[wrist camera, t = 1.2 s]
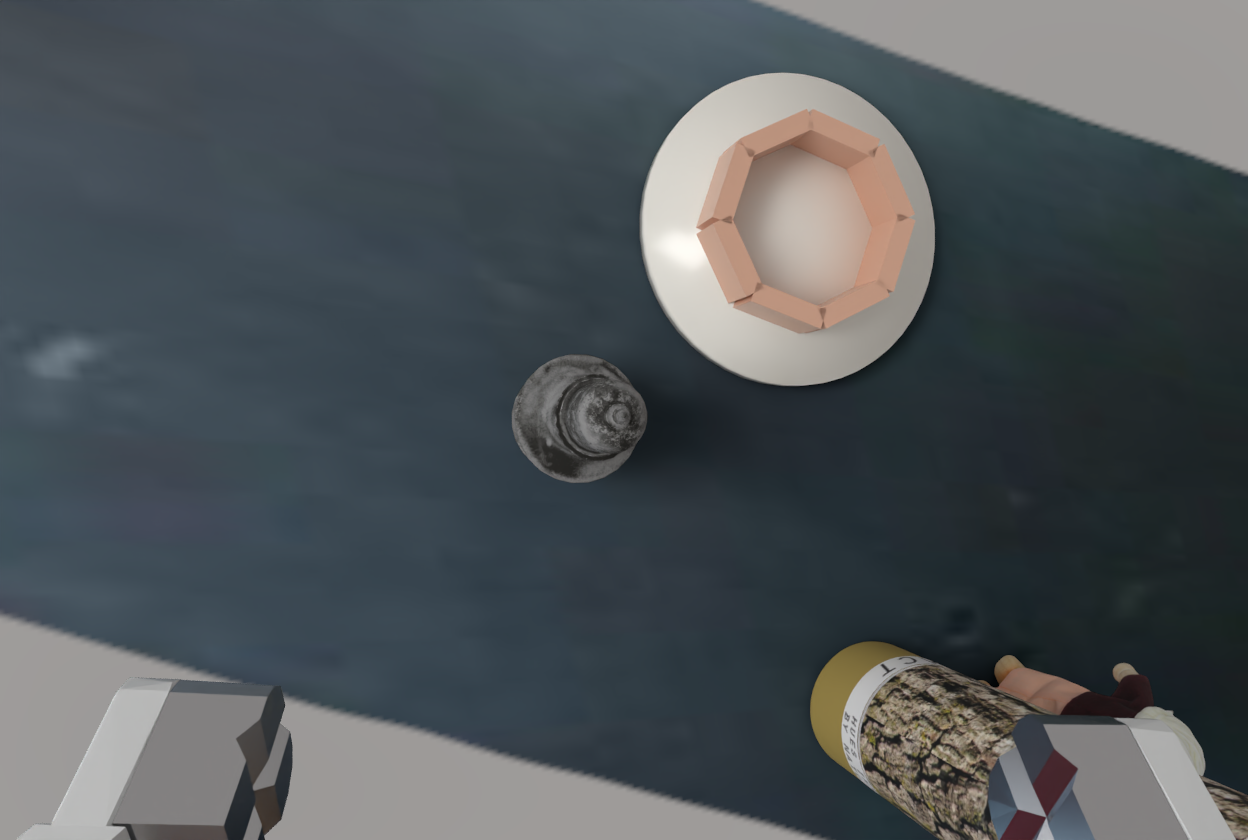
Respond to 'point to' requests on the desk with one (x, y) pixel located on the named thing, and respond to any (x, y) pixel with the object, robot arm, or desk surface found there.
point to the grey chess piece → (578, 418)
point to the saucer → (787, 230)
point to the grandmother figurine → (1093, 699)
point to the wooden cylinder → (932, 737)
